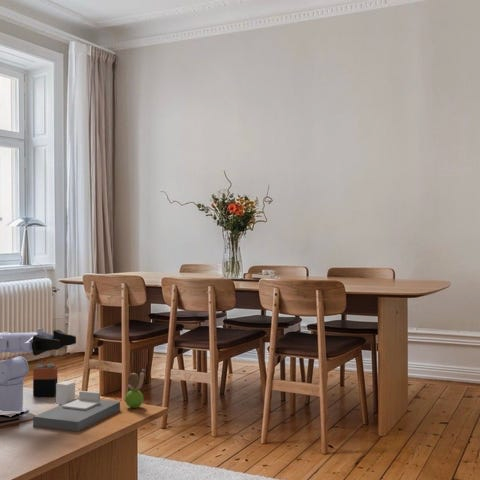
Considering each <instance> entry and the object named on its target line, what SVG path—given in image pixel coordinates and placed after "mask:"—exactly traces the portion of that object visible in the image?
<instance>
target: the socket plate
mask: <svg viewBox="0 0 480 480" xmlns="http://www.w3.org/2000/svg"><path fill="white" fill-rule="evenodd" d="M75 400H79V397H77V398H75V399H74V400H72V401H69V402H67V403H65V404H62V405H60V406H59V405H58V406H55V407H53V408H51V409H47V410H45V411H44V412H41V413H38V414H35V415H33V417H32V426H33V427H37V428H38V427H39V428H47V429H57V430H61V431H62V430H64V431H72V432H81V430H85V429H86V428H87V427H89V426H92V425H93V424H96V423H98V422H100V421H102V420H103V419H105V418H108V417H109V416H111V415H114V414H116V413H117V412H119V411H121V401H116V400H106V399H105V400H104V399H100V401H99V402H100V404H98V405H96V406H94V407H92V408H89V409H87V410H79V409H70V408H62V406H63V405H66V404H68V403H70V402H73V401H75Z"/></svg>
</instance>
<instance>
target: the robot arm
mask: <svg viewBox="0 0 480 480" xmlns="http://www.w3.org/2000/svg"><path fill="white" fill-rule="evenodd" d="M75 344H77V336H76V335H72V334H68V333H65V332H63V331H62V330H60V329H55V330H52V334H50V333H48V332H46V331H44V328H43V327H39V328H37V329H36V331H30V332H12V333H11V332H9V331H1V332H0V354H2V353H11V354H12V353H13V354H21V353H22V354H23V353H24V354H25V353H26V354H27V353H28V354H32V355H33V356H39V355H42V354H44V353H45V352H49V351H52V350H55V351H57V350H60V349H62V348H63V347H68V346H71V345H72V346H73V345H75ZM29 369H30V368H29V362H28V361H27V359H26V358H25V357H24V356H20V355H18V356H15V357H12V358H8V359H3V360H0V410H2V411H25V412H24V413H27V412H29V411H30V408H25V407H24V405H23V404H24V381H25V377H26V376H27V374H28V373H29Z"/></svg>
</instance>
